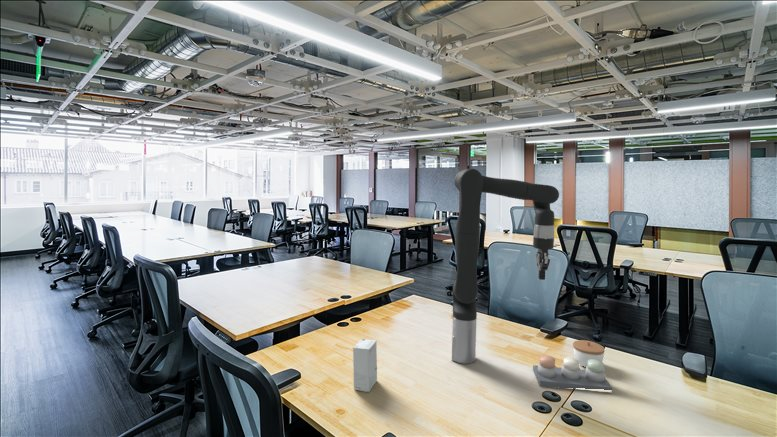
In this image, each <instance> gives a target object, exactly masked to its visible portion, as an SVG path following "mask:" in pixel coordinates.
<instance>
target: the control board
mask: <svg viewBox="0 0 777 437" xmlns="http://www.w3.org/2000/svg"><path fill="white" fill-rule="evenodd" d="M532 365H533V364H532ZM532 371H533V373H534V376H535V378H536V380H537V383H538V386H539V387H542V386H543V388H544V387H545V388H552V387H556V388H555V389H563V388H573V389H575V388H585V389H604V390H612V391H613V386H612V385H611V384H610V382H609V381H608V380H607V379H606V370H605V369H604V372H603V373H595V372H592V371H590V370H589V369H588V368H587V367H586V368H585V369H581V368H580V367H579V370H577V371H572V370H568V369H566V368H564V367H563V364H561V367H558V366H556V365H555V367H554V368H552V369H548V368H544V367H542V366H541V365H540V361H538V362H537V365H533V366H532ZM558 387H559V388H558ZM573 389H572V390H573Z"/></svg>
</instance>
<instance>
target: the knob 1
mask: <svg viewBox="0 0 777 437" xmlns="http://www.w3.org/2000/svg"><path fill="white" fill-rule="evenodd" d="M539 362H540V365H541V366H542V367H544V368H548V369H552V368H554V367H555V366H556V359H555V358H554V357H552V356H550V355H545V354H544V355H543V354H542V355H540V356H539Z"/></svg>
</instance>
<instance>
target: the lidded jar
mask: <svg viewBox="0 0 777 437" xmlns="http://www.w3.org/2000/svg"><path fill="white" fill-rule="evenodd" d="M572 353H573V358H574V359H577V360H578V361H579V364H580V365H581V366H580V365H579V366H580V367H582V366H584V367H587V366H588V360H590V359H594V360H598V361H601V362H603V361H604V355H605V347H604V346H602V345H601V344H599V343H597V342H594V341H592V340H591V341H590V340H584V339H581V340H580V339H579V340H574V341H573V343H572ZM584 367H583V368H584Z"/></svg>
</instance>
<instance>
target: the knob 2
mask: <svg viewBox="0 0 777 437" xmlns="http://www.w3.org/2000/svg"><path fill="white" fill-rule="evenodd" d="M587 368H588V369H589V370H590V371H592V372H595V373H603V372H604V370H605V363H604V362H603V361H602V362H601V361H598V360H594V359H590V360H588V366H587Z"/></svg>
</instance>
